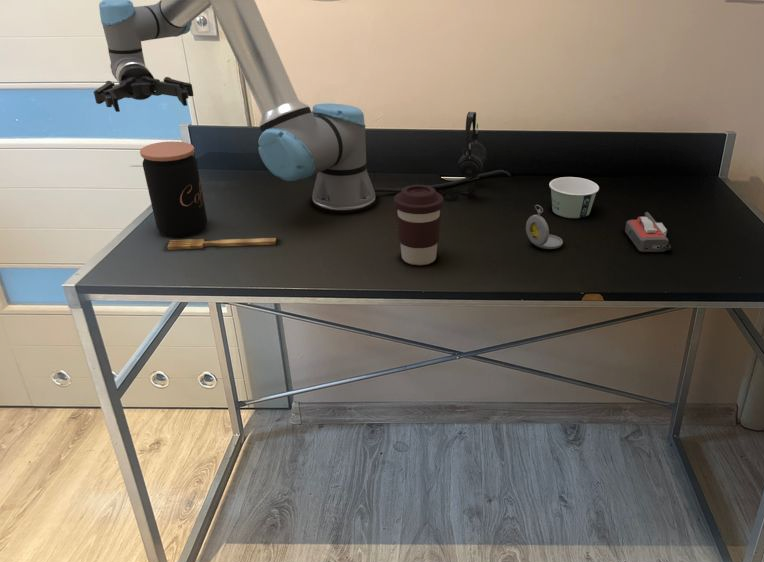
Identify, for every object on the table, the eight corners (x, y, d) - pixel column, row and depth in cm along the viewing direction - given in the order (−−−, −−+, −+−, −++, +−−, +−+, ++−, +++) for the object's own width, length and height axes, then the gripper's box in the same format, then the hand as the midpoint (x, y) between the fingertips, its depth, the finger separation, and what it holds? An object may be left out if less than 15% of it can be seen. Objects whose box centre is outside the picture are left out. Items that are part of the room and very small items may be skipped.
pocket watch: (565, 241, 157) (570, 198, 152) (556, 256, 150) (561, 212, 145) (530, 235, 159) (533, 193, 154) (520, 249, 153) (523, 206, 147)
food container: (537, 205, 174) (539, 180, 171) (577, 199, 179) (580, 174, 175) (564, 223, 166) (567, 197, 162) (605, 216, 170) (609, 190, 167)
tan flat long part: (276, 239, 153) (276, 236, 152) (275, 246, 150) (275, 242, 150) (170, 243, 149) (170, 240, 149) (167, 250, 147) (167, 246, 146)
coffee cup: (424, 273, 142) (424, 203, 133) (385, 260, 146) (383, 191, 138) (451, 256, 149) (453, 188, 141) (413, 244, 153) (412, 178, 145)
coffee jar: (192, 241, 151) (176, 159, 141) (147, 235, 152) (128, 154, 142) (217, 222, 159) (203, 143, 150) (174, 217, 161) (158, 139, 151)
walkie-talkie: (678, 254, 153) (649, 218, 170) (682, 235, 151) (652, 201, 167) (640, 255, 152) (614, 218, 169) (643, 236, 150) (617, 201, 167)
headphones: (444, 179, 188) (446, 103, 177) (486, 183, 187) (490, 106, 176) (435, 200, 175) (435, 119, 164) (479, 204, 174) (483, 122, 163)
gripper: (193, 92, 172) (213, 114, 156) (81, 101, 161) (91, 126, 146) (188, 59, 167) (208, 79, 152) (72, 66, 157) (81, 88, 142)
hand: (151, 102), depth 149 cm, fingers open, 13 cm apart
